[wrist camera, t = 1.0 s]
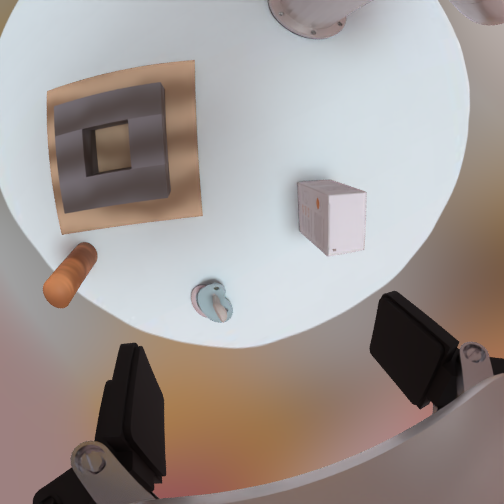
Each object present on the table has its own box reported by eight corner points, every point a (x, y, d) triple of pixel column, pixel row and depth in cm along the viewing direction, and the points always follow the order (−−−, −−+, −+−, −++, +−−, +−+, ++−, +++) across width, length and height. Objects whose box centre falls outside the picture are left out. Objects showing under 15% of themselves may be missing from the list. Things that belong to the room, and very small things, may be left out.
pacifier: (201, 320, 46) (234, 309, 46) (202, 344, 40) (239, 333, 41) (184, 285, 43) (220, 273, 43) (183, 307, 37) (223, 295, 37)
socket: (49, 92, 26) (30, 87, 21) (194, 62, 30) (195, 48, 25) (64, 232, 35) (47, 246, 30) (202, 214, 39) (204, 226, 33)
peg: (72, 244, 36) (38, 280, 25) (94, 240, 37) (64, 277, 26) (78, 267, 38) (49, 308, 27) (99, 265, 38) (74, 307, 27)
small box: (330, 227, 44) (365, 251, 34) (298, 231, 43) (327, 258, 34) (330, 178, 41) (368, 191, 31) (296, 180, 40) (328, 194, 30)
